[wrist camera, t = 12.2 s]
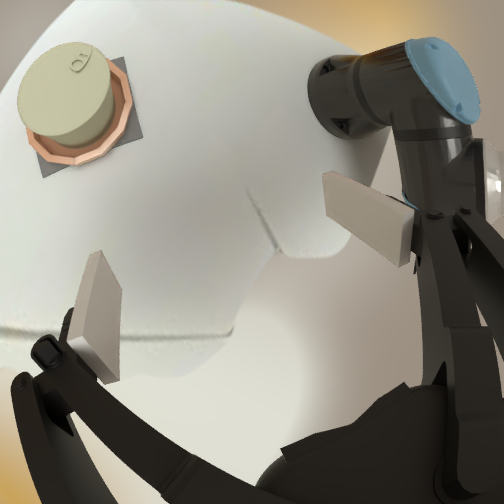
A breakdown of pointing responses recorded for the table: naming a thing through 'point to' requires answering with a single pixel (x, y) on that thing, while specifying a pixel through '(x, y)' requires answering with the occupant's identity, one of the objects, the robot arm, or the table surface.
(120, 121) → the bowl
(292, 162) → the table surface
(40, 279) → the table surface
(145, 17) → the table surface
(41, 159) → the mat
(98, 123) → the can
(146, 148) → the table surface
